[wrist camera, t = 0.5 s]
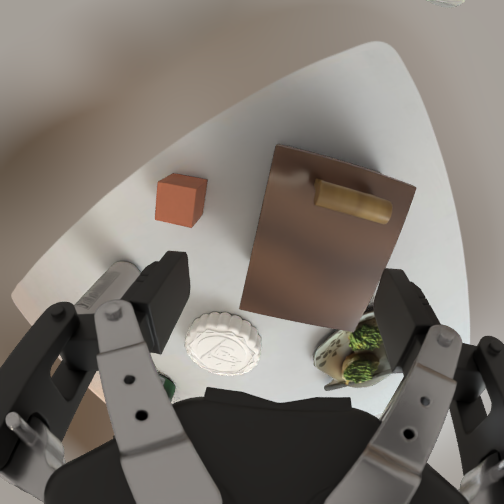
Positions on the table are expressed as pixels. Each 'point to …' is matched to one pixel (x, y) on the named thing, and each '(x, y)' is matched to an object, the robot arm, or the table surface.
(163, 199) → the block
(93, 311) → the energy drink can
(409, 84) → the table surface
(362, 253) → the lid
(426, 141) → the table surface
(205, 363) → the mooncake
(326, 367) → the avocado toast plate
